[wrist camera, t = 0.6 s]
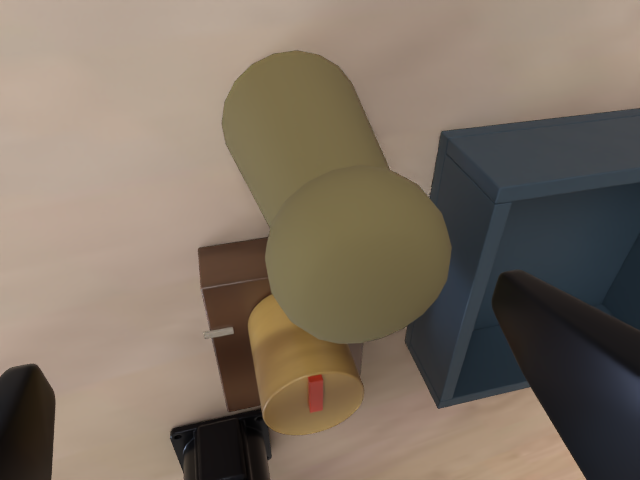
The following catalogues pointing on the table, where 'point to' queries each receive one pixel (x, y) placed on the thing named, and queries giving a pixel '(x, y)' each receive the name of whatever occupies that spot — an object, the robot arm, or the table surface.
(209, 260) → the panel
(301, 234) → the cork
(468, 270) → the basin
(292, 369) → the tap knob
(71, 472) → the table surface
